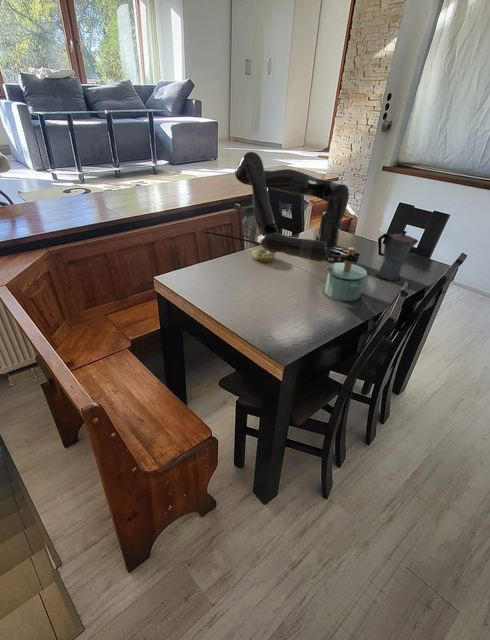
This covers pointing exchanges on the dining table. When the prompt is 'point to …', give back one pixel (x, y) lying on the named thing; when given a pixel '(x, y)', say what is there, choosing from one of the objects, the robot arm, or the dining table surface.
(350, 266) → the pot lid
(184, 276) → the dining table surface
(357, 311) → the dining table surface
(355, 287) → the pot
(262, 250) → the decorated donut
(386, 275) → the moka pot
